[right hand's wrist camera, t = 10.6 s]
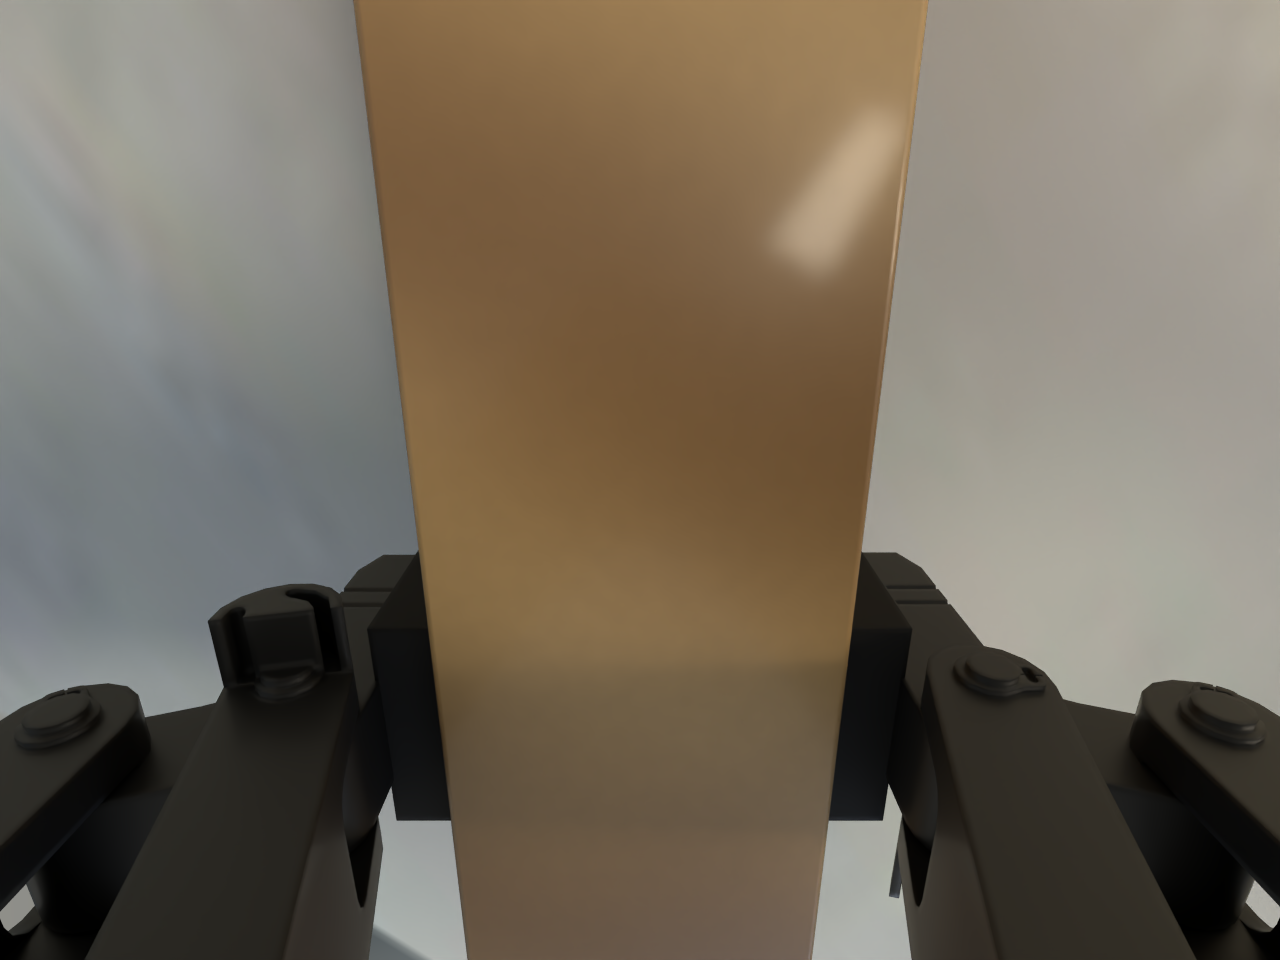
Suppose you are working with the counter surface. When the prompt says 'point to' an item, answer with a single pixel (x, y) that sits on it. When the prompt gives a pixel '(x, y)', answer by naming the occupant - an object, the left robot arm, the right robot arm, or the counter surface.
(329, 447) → the counter surface
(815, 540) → the post
